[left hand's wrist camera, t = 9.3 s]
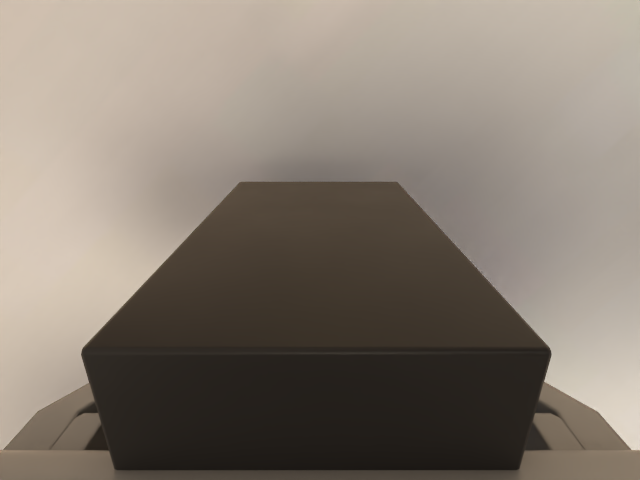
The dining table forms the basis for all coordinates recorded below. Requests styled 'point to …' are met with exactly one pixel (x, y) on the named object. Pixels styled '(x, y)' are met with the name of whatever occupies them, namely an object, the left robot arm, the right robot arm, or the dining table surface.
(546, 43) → the dining table surface
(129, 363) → the bar
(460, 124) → the dining table surface
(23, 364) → the dining table surface
